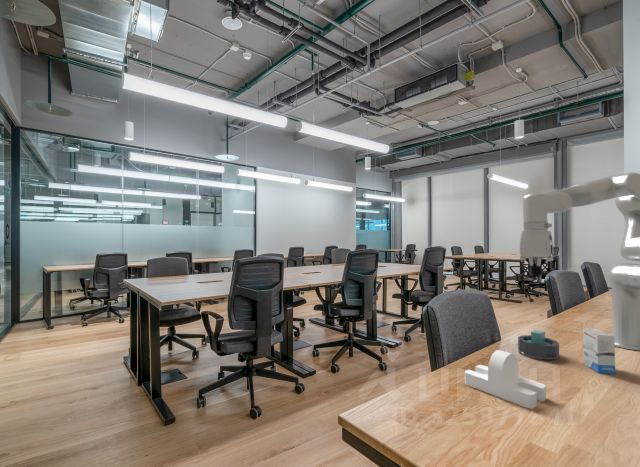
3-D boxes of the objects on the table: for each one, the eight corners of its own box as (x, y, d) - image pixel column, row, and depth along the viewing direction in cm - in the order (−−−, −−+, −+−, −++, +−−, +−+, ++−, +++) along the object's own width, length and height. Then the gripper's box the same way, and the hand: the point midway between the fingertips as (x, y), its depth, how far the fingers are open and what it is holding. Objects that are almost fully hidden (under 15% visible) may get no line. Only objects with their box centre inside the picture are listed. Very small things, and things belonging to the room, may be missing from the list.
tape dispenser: (531, 410, 84) (531, 366, 84) (462, 384, 98) (462, 346, 98) (547, 399, 89) (547, 357, 89) (480, 376, 104) (480, 340, 104)
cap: (531, 346, 127) (531, 327, 127) (554, 352, 121) (554, 332, 121) (522, 350, 123) (522, 331, 123) (545, 356, 117) (545, 336, 117)
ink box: (616, 374, 105) (616, 336, 105) (597, 373, 106) (597, 335, 106) (599, 364, 113) (599, 328, 113) (582, 363, 114) (582, 327, 114)
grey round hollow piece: (526, 346, 131) (526, 333, 131) (563, 355, 121) (563, 341, 121) (512, 353, 123) (512, 339, 123) (550, 363, 114) (550, 348, 114)
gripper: (562, 226, 124) (563, 277, 124) (517, 227, 135) (519, 274, 135) (555, 226, 119) (556, 279, 119) (509, 227, 131) (511, 276, 131)
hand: (536, 276), depth 127 cm, fingers closed
